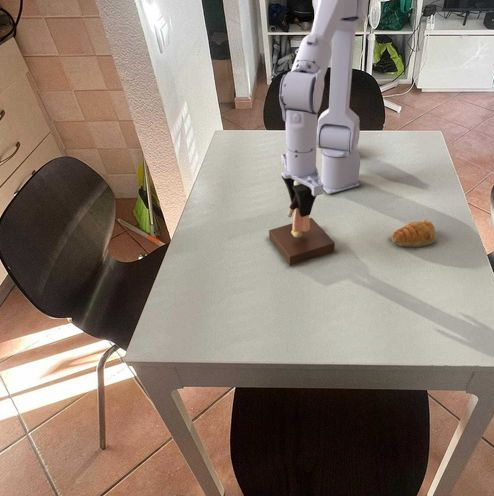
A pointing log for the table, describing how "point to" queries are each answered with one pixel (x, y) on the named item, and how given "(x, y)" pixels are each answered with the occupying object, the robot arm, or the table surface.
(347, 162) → the robot arm
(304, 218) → the grandmother figurine
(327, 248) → the walnut block
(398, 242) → the pastry
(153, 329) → the table surface
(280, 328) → the table surface
